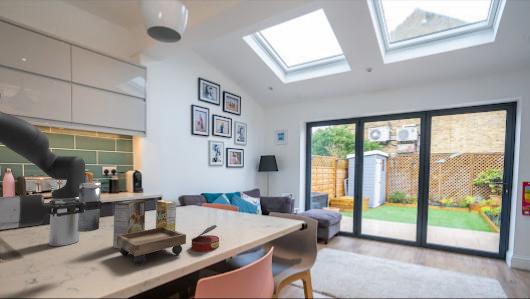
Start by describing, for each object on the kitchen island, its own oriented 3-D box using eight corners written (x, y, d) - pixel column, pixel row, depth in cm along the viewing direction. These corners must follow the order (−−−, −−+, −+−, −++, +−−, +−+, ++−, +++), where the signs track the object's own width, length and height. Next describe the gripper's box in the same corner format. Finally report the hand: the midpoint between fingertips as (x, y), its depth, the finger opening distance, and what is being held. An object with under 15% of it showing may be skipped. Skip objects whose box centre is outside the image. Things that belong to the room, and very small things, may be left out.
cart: (116, 254, 83) (117, 235, 83) (163, 243, 95) (164, 226, 95) (134, 268, 72) (135, 245, 73) (185, 253, 84) (186, 234, 84)
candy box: (154, 239, 102) (155, 200, 103) (164, 236, 105) (165, 199, 106) (165, 243, 96) (166, 202, 97) (175, 240, 99) (176, 201, 100)
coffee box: (130, 240, 99) (131, 199, 100) (144, 241, 98) (146, 200, 99) (112, 248, 90) (113, 203, 91) (127, 249, 89) (129, 203, 90)
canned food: (200, 265, 86) (187, 242, 84) (194, 253, 95) (182, 231, 93) (228, 246, 91) (217, 223, 88) (220, 236, 100) (210, 215, 97)
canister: (75, 229, 71) (77, 183, 72) (96, 226, 75) (98, 182, 76) (79, 232, 68) (82, 184, 68) (101, 229, 71) (103, 183, 72)
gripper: (19, 198, 56) (106, 192, 69) (15, 193, 66) (92, 188, 78) (17, 233, 56) (105, 220, 68) (14, 222, 65) (91, 213, 78)
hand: (98, 203), depth 73 cm, fingers closed on canister, 5 cm apart
